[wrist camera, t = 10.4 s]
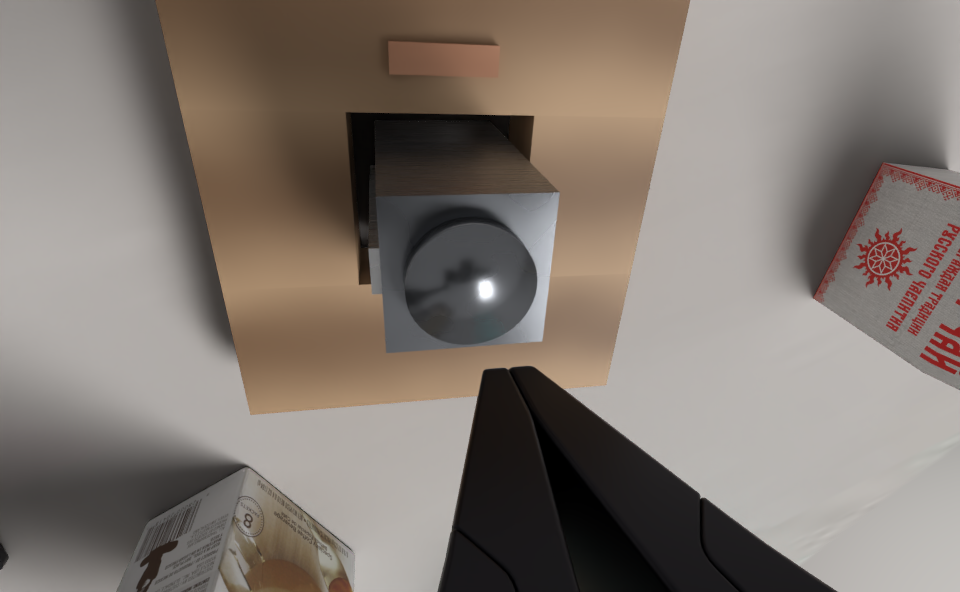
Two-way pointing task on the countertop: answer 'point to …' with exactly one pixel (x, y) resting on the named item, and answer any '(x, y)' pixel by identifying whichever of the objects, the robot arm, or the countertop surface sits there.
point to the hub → (332, 183)
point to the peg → (458, 236)
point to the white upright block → (904, 268)
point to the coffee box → (238, 545)
